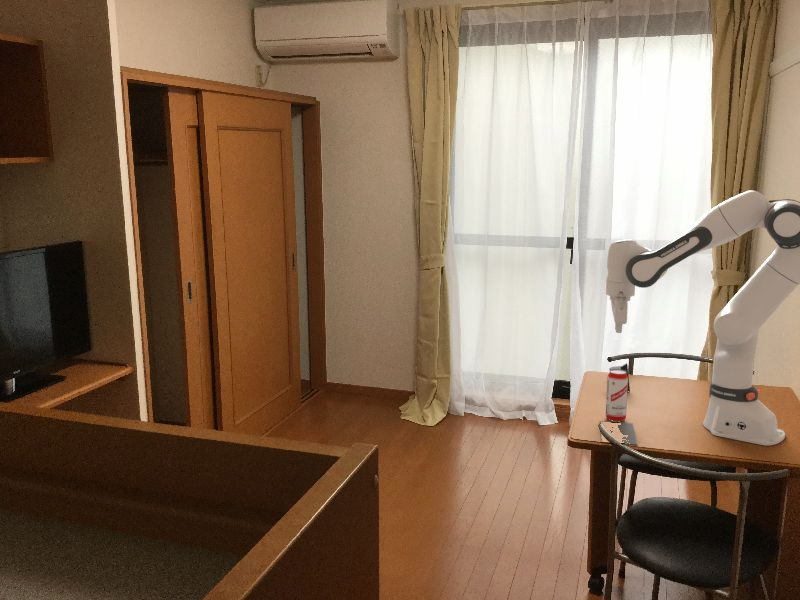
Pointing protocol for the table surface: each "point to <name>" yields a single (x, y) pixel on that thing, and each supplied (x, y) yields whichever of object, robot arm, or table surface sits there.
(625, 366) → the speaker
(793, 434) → the table surface
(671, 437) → the table surface
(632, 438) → the mat
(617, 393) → the beer can
